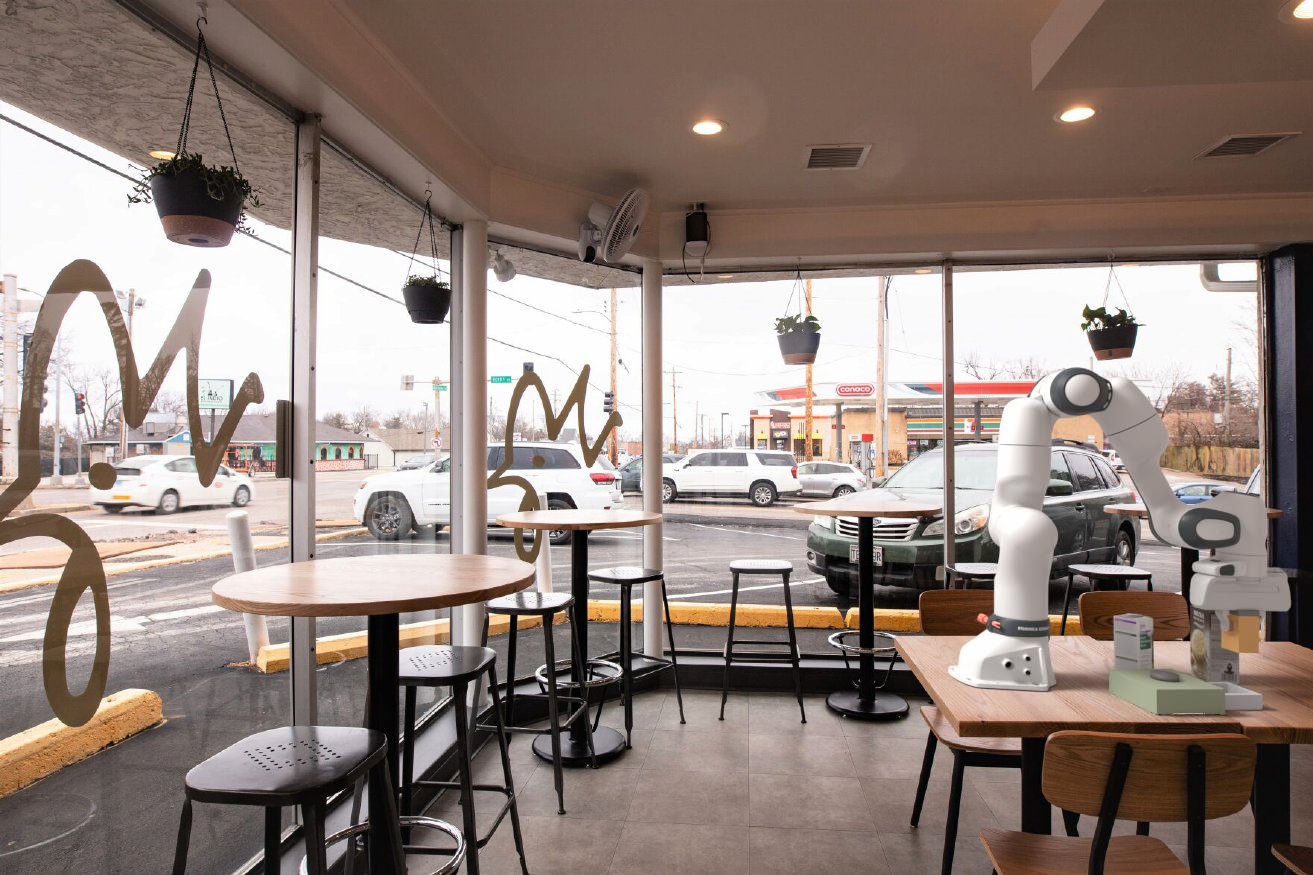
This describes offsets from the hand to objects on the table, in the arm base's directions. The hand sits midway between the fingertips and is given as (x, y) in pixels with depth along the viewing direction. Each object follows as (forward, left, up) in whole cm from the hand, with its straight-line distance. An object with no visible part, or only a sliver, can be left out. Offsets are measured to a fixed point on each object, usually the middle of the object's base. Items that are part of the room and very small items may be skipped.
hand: (1239, 630), depth 160 cm
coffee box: (+3, +11, -14) cm, 18 cm away
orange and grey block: (0, 0, -4) cm, 4 cm away
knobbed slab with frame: (-17, -6, -13) cm, 22 cm away
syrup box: (-17, +10, -14) cm, 24 cm away
